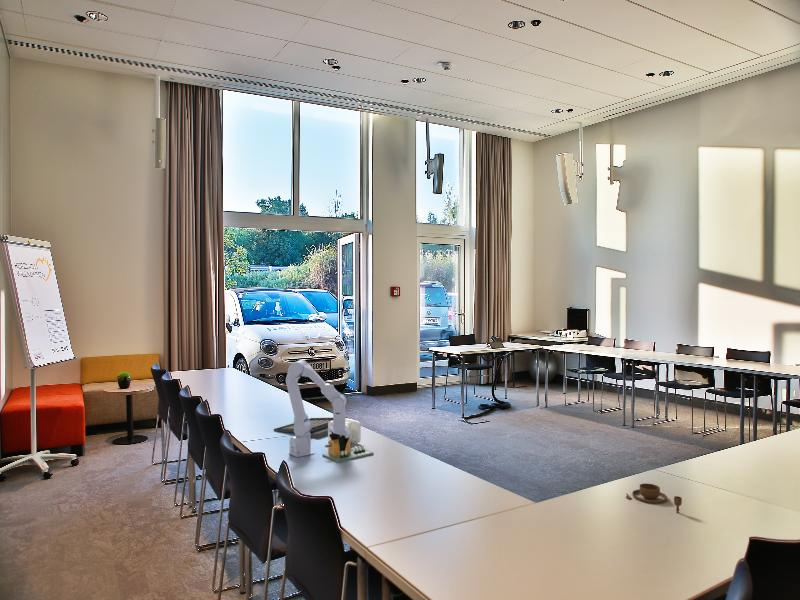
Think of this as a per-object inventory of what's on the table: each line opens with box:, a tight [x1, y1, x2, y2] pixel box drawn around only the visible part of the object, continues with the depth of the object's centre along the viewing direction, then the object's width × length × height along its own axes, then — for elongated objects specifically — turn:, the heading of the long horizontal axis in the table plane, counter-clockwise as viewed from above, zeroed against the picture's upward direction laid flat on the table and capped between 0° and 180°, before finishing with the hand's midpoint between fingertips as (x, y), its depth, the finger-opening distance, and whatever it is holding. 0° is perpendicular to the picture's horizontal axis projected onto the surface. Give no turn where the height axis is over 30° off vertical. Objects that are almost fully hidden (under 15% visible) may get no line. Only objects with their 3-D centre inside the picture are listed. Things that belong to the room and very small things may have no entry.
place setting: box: [625, 483, 683, 514], centre depth 206 cm, size 18×20×6 cm
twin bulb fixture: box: [340, 450, 349, 458], centre depth 258 cm, size 4×1×3 cm, turn 130°
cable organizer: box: [327, 417, 362, 445], centre depth 285 cm, size 15×11×12 cm
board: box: [322, 446, 374, 463], centre depth 264 cm, size 20×13×1 cm, turn 130°
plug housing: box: [324, 439, 351, 456], centre depth 264 cm, size 12×5×6 cm, turn 130°
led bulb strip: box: [354, 444, 366, 454], centre depth 266 cm, size 6×1×3 cm, turn 130°
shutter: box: [273, 416, 348, 440], centre depth 316 cm, size 32×7×31 cm
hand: (339, 450), depth 265 cm, fingers closed on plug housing, 5 cm apart
